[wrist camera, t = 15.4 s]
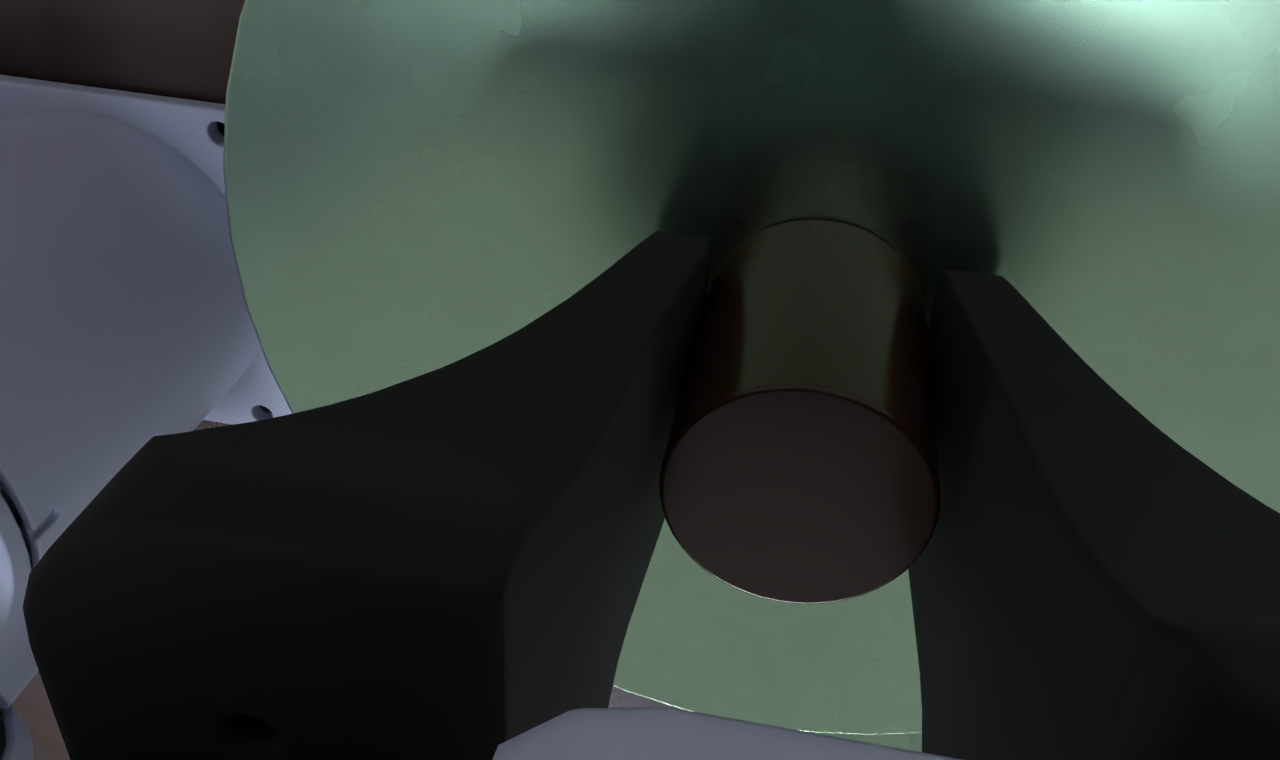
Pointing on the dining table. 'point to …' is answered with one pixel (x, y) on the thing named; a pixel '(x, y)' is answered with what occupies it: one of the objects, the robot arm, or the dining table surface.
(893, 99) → the lid
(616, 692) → the dining table surface
